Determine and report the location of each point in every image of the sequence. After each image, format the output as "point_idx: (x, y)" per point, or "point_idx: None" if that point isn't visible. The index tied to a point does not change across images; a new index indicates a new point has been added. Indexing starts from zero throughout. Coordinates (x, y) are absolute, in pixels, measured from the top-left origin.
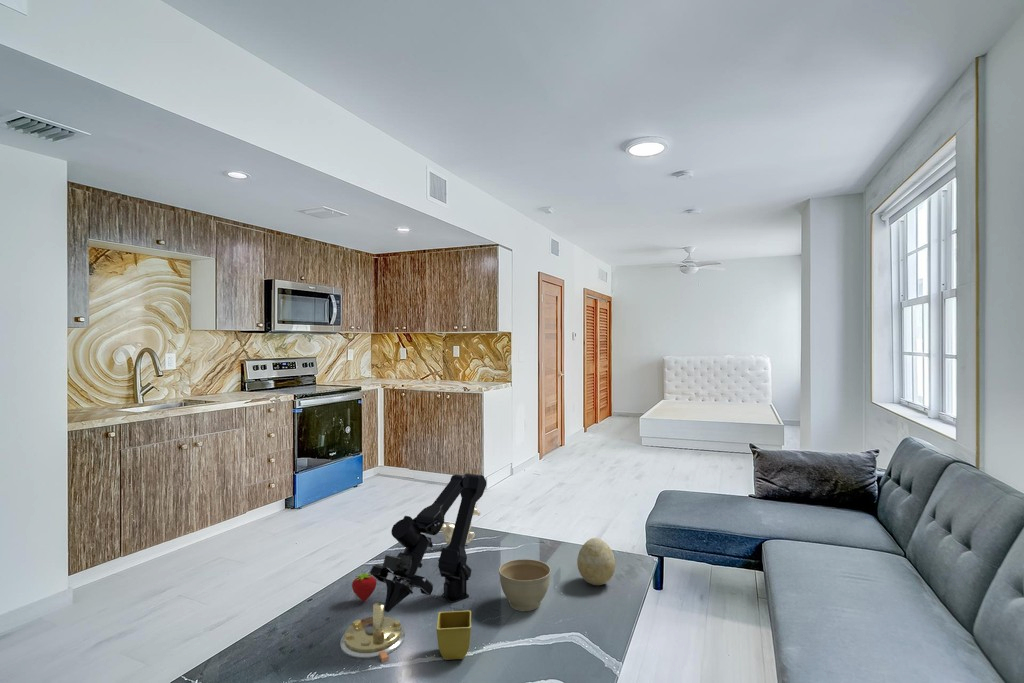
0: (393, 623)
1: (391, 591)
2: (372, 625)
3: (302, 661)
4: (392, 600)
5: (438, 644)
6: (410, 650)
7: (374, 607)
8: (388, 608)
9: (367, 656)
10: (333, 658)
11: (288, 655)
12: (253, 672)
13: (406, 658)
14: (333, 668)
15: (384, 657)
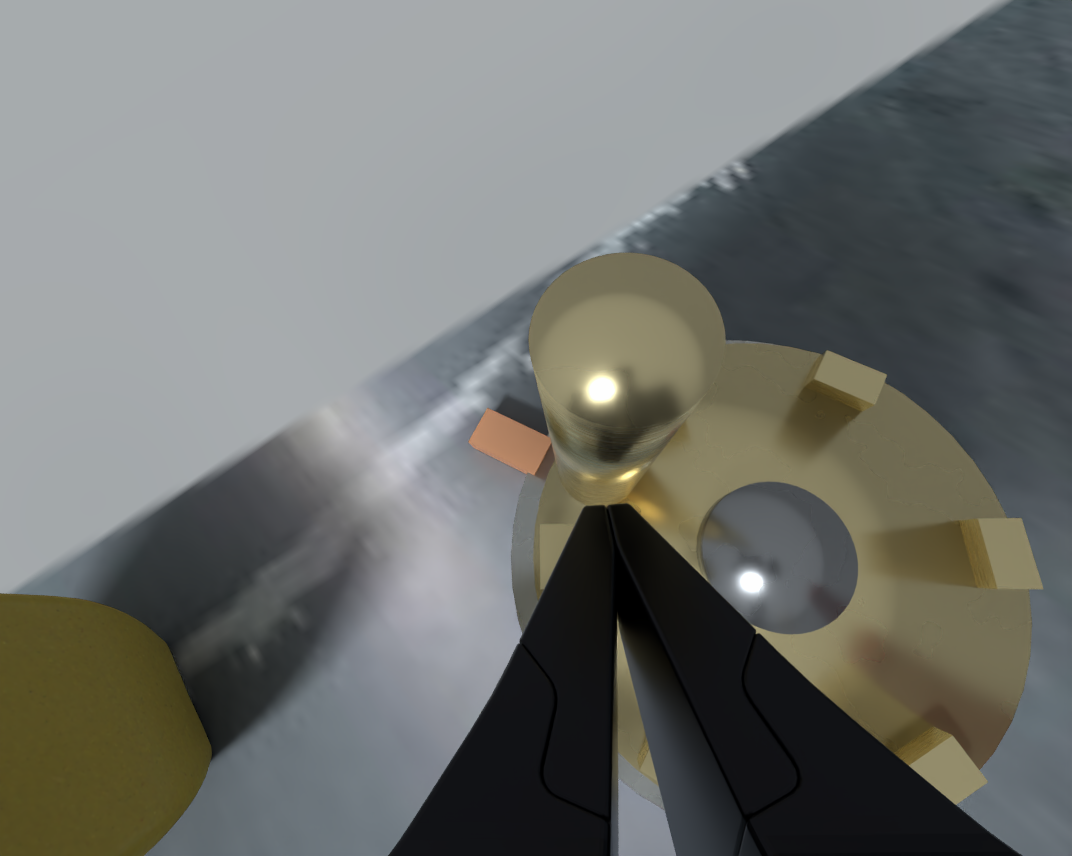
0: None
1: (726, 799)
2: (808, 569)
3: (875, 191)
4: (539, 611)
5: (53, 596)
6: (424, 604)
7: (619, 254)
8: (572, 533)
9: None
10: (762, 292)
11: (998, 177)
12: (970, 36)
13: (393, 523)
14: (678, 245)
15: (482, 421)
